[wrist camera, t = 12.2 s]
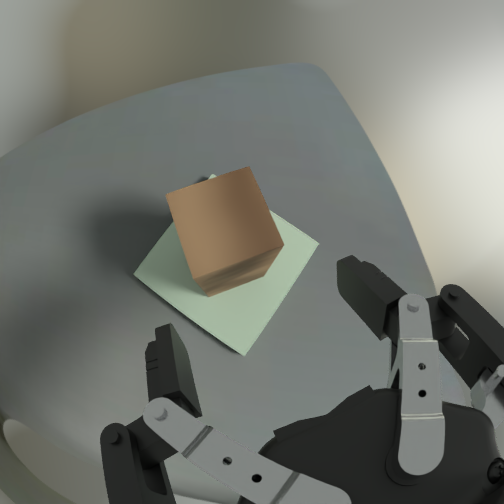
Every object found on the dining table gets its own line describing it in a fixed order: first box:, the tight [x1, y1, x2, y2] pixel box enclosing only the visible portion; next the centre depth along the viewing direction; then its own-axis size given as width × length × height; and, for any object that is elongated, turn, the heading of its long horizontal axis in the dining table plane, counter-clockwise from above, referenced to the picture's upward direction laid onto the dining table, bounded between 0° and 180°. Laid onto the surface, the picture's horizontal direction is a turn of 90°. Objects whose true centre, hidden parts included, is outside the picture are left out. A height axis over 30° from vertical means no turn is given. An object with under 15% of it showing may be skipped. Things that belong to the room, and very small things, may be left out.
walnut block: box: [166, 167, 284, 297], centre depth 20 cm, size 5×5×10 cm
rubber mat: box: [133, 174, 319, 356], centre depth 25 cm, size 12×12×1 cm
